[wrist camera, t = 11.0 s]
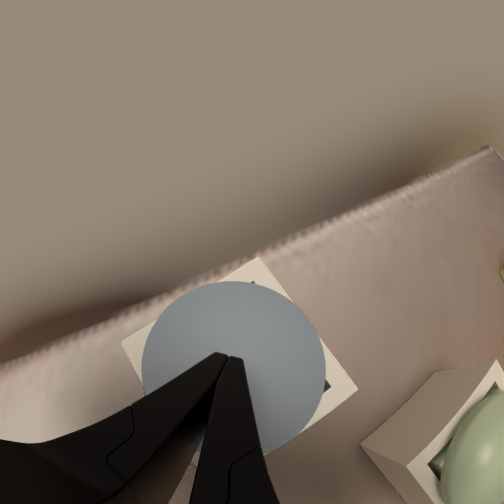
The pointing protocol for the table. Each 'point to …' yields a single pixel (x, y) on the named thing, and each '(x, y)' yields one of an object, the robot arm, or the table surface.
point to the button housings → (400, 423)
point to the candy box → (502, 273)
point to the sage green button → (474, 456)
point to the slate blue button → (244, 351)
